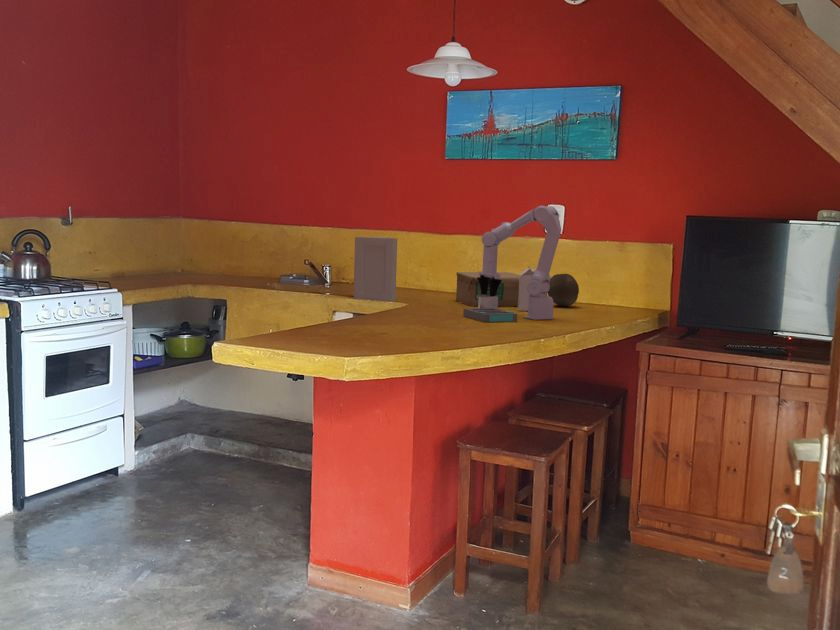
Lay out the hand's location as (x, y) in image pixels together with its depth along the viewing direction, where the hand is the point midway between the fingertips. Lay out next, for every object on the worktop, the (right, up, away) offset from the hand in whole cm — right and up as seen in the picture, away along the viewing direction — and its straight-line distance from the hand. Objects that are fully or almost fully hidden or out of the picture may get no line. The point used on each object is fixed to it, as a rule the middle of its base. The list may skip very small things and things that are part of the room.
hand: (488, 295), depth 331 cm
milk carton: (+18, -6, +17) cm, 26 cm away
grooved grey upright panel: (-47, -1, +45) cm, 65 cm away
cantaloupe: (+36, -5, +36) cm, 51 cm away
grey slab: (0, -8, +1) cm, 8 cm away
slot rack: (-1, -10, -16) cm, 18 cm away
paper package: (+4, -3, +39) cm, 39 cm away
